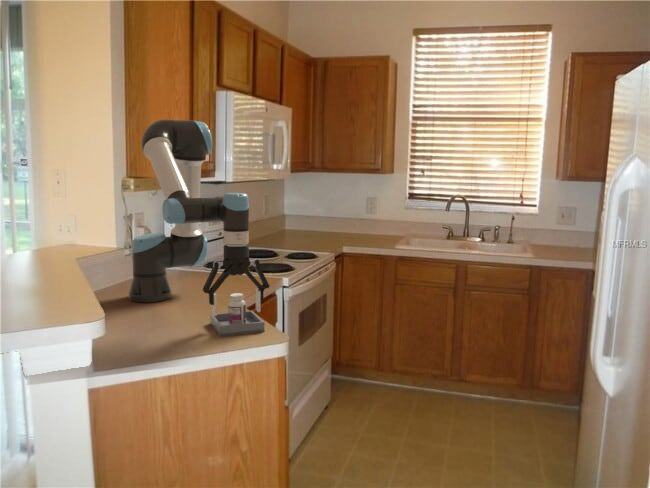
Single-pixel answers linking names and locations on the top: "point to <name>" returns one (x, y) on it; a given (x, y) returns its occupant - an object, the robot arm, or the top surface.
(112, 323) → the top surface
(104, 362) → the top surface
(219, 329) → the bin
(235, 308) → the pill bottle
